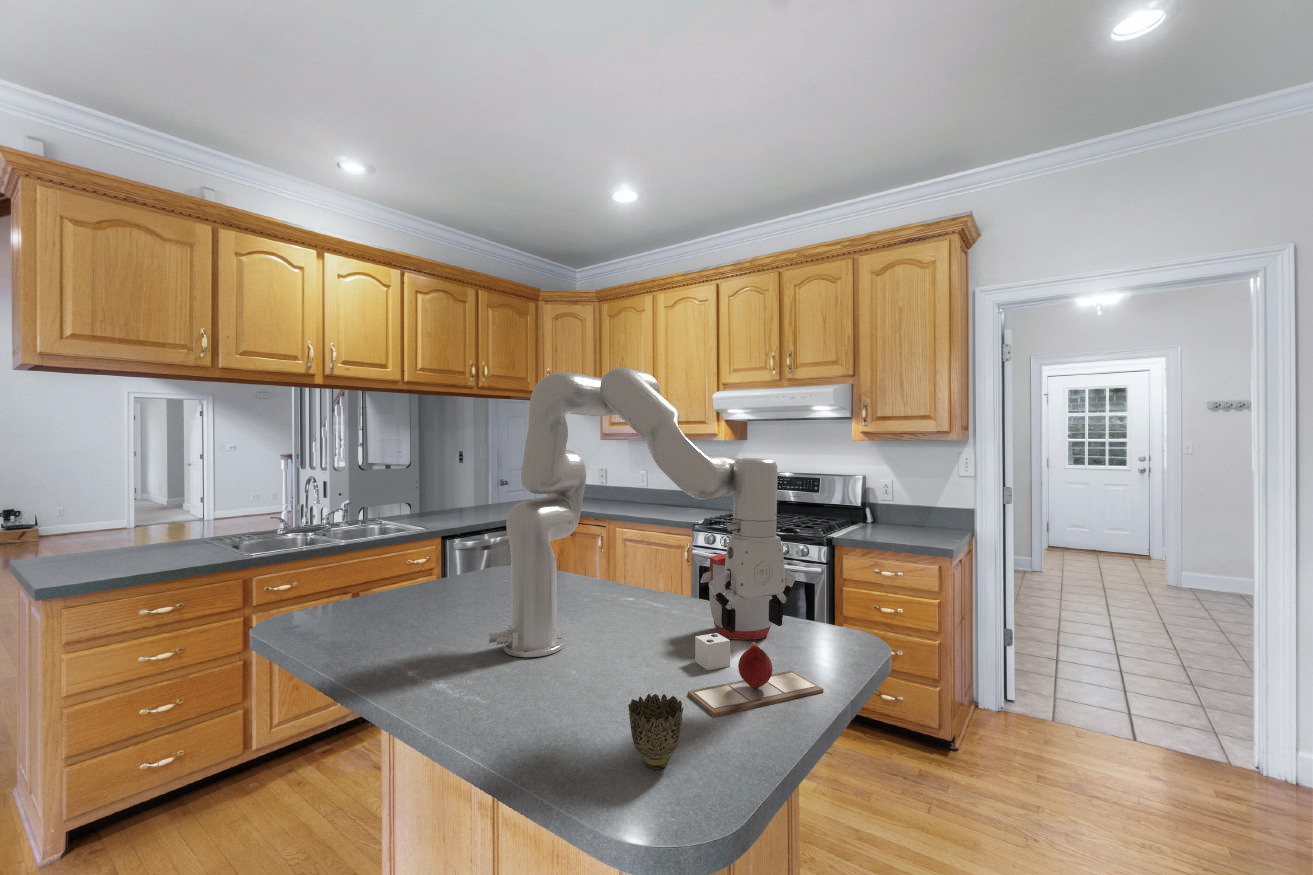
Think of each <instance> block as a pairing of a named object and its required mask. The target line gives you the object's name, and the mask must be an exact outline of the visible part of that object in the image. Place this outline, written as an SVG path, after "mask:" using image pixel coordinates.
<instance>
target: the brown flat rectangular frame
mask: <svg viewBox="0 0 1313 875" xmlns="http://www.w3.org/2000/svg"><path fill="white" fill-rule="evenodd" d="M824 689H825V688H823V687H822V686H819V684H818V685H817V684H815V683H814V682H812V681H810V680H809V679H807V678H806V677H804V676H802V675H800V674H799V673H797V672H794V671H793V670H787V671H783V672H778V673H777V672H776V673H772V675H771V677H770V679H769V681H768V682H767V683H766V684H764V685H763V686H761V687H759V688H758V689H752V688H751V687H750V686H749V685H748V684H747V683H746V682H745V681H744V680H743V679H741V680H738V681H733V682H727V683H722V684H717V685H713V686H707V687H702V688H698V689H697V688H696V689H692V690H687V695H688V696H689V697H690V698H691V699H693V701H695V702H696V704H698V705H699V706H700V707H702V708H703V709H704V710H706V711H707V712H708V713H709V714H710V715H711V716H712V717H719V716H724V715H727V714H733V713H737V712H742V711H746V710H750V709H755V708H759V707H764V706H768V705H772V704H778V703H782V702H785V701H790V700H795V699H799V698H800V699H801V698H803V697H809V696H811V695H817V693H818V694H822V693H824ZM821 692H822V693H821Z"/></svg>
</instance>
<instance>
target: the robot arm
mask: <svg viewBox="0 0 1313 875" xmlns="http://www.w3.org/2000/svg"><path fill="white" fill-rule="evenodd" d="M566 415H578V416H588V417H589V416H590V417H608V416H618V417H620V419H622V420H623V421H624V422H625V423H626V424H627V425H628V426H629V427H630V428H631V429H632V430H633V431H634V432H635V433H636V434H637V435H638V436H639V437H640V438H641V439H642V440H643V441H644V442H645V444H646V445H647V448H648V450H649V453H650V455H651V457H652V458H653V461H654V462H655V463H656V465H657V467H658V468H659V469H660V470H661V471H662V472H663V473H664V475H666V477H667V478H668V479H670V480H671V482H672V483H674V484H675V485H676V486H677V487H678V488H679V489H680V490H681V491H682V492H684V493H685V494H686V495H688V496H689V497H692V498H693V499H697V500H710V499H714V498H721V497H725V496H726V497H727V496H733V500H732V501H733V502H732V503H733V504H732V505H733V506H732V520H731V521H732V522H730V523H729V522H728V523H727V525H726V530H727V531H728V532H731V533H732V535H730V536H729V539H728V542H727V547H726V552H725V554H726V559H725V569H724V572H723V573H722V574H721V575H719V576H718V577H716V578H715V579H713V580H712V581H710V582H708V588H709V587H710V590H711V592H712V593H713V597H714V598H715V599H716V600H717V601H718V603H719V604H720V605H721V606H722V613H721V623H722V627H723V628H724V629H725V630H727V631H729V632H731V633H733V632H735V621H736V610H735V609H734V608H733V606H734V604H735V603H736V602H737V600H738V599H739V597H740V598H754V597H763V596H771V597H772V599H770V600H769V621H770V622H771V624H774V625H775V626H778V627H782V626H783V617H784V604H785V603H786V602H787V597H788V596H789V595H790V594H791V592H792V590H793V589H792V587H793V585H794V583H795V581H796V575H794V574H792V573H791V572H789V571H787V570H785V559H784V550H783V549H784V548H783V545H782V540H781V536H778V535H777V520H778V519H777V516H778V515H777V510H778V505H777V504H778V465H777V462H776V461H775V460H773V459H771V458H764V457H763V458H760V457H758V458H757V457H743V458H737V457H733V456H727V455H706V454H704V453H703V452H702V450H700V449H699V448H698V447H697V446H695V445H694V443H693V442H691V441H690V440H689V439H688V438H687V437H686V435H685V434H684V433H683V432H682V430H681V429H680V427H679V424H678V423H679V419H680V414H679V411H678V410H677V408H676V407H674V405H672V404H671V403H670V402H669V401H668V400H667V399H665V398H664V397H663V396H662V395H661V387H660V385H659V382H658V381H657V379H656V378H655V377H654V376H653V375H651V374H650V373H648V372H645V371H641V370H638V369H633V368H629V367H623V366H622V367H615V368H612V369H610V370H608V371H607V372H606V373H605V374H604V375H603V377H598V376H592V375H586V374H582V373H578V372H570V371H559V372H554V373H549V374H548V375H546V376H544V377H542V378H541V379H540V380H539V381H538V382H537V384H536V385H535V386H534V387H533V389H532V392H531V395H530V398H529V411H528V426H527V432H526V439H525V443H524V444H525V445H524V451H523V458H522V464H521V471H520V480H521V485H522V487H523V488H524V490H526V491H527V492H529V493H531V494H536V495H546V497H540V498H532V499H531V498H530V499H526V500H522V501H520V502H518V503H516V504H515V505H514V506H513V507H512V508H511V509H510V510H509V512H508V514H507V517H506V524H505V525H506V532H507V533H506V534H507V538H508V544H509V550H510V577H511V578H510V581H511V582H510V585H511V586H510V587H511V588H510V591H511V592H510V596H511V597H510V601H511V602H510V611H511V612H510V625H507V629H504V630H503V631H501V632H500V631H499V632H497V631H496V632H489V633H488V634H487V642H488V644H491V643H493V644H494V643H495V644H496V645H503V651H504V653H506V654H507V655H509V656H513V657H517V658H538V657H544V656H549V655H552V654H555V653H557V652H559V651H561V650H562V649H563V648H564V646H565V641H564V638H563V637H562V636H561V635H558V634H557V631H558V630H557V628H558V627H557V623H558V622H557V619H558V617H557V611H558V610H557V602H558V601H557V596H558V595H557V594H558V593H557V588H558V586H557V584H558V583H557V581H558V580H557V576H558V575H557V559H556V555H555V553H554V550H553V548H552V545H551V542H552V541H556V540H560V539H564V538H566V537H568V536H571V535H572V534H573V533H574V532H575V530H576V529H577V528H578V525H579V522H580V518H581V512H582V507H583V502H584V501H583V500H584V495H585V488H586V480H587V470H586V464H585V461H584V459H583V458H582V456H580V454H579V453H577V452H576V451H574V450H571V449H567V444H568V438H569V427H568V422H567V419H566ZM723 584H724V588H725V590H726V591H725V592H724V594H722V593H721V590H720V587H721V586H722V585H723Z"/></svg>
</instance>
